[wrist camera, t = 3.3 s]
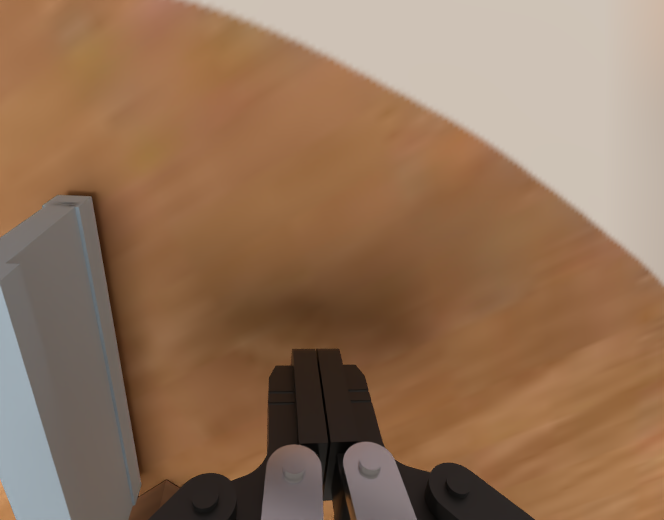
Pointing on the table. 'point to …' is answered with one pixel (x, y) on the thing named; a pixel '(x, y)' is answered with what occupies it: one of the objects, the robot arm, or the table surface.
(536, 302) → the table surface
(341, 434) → the robot arm
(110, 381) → the gate
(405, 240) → the table surface
